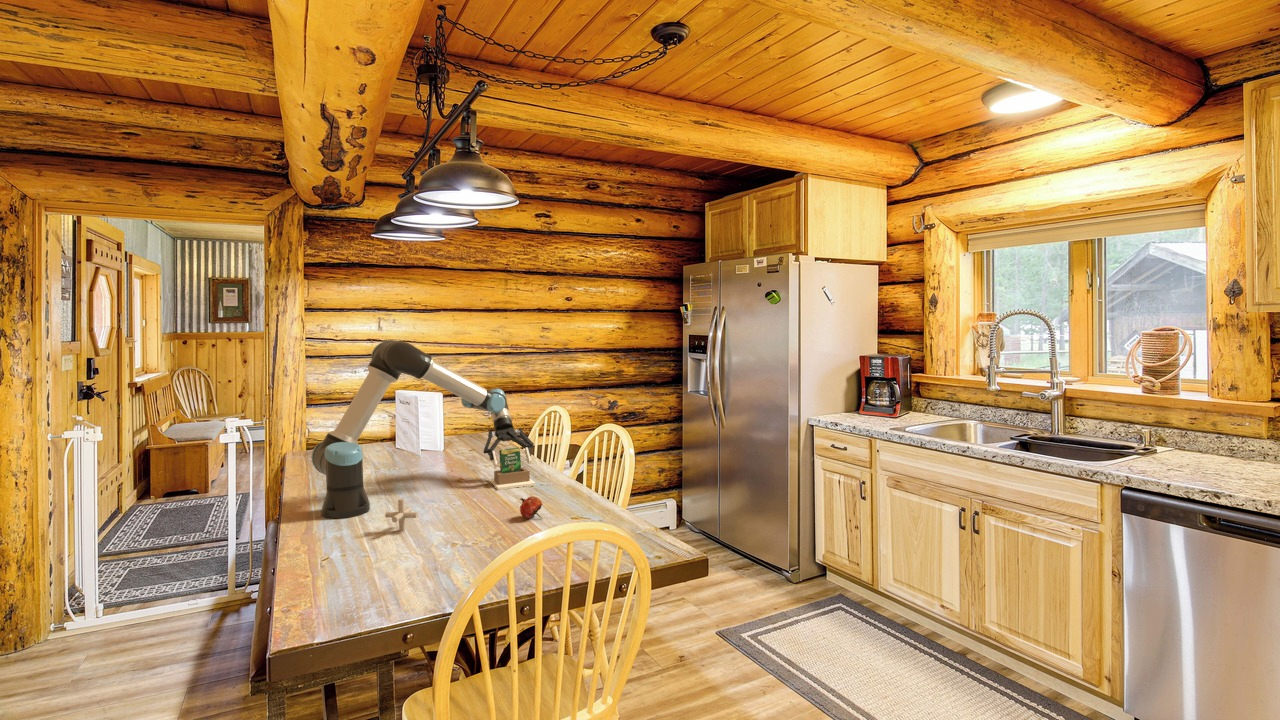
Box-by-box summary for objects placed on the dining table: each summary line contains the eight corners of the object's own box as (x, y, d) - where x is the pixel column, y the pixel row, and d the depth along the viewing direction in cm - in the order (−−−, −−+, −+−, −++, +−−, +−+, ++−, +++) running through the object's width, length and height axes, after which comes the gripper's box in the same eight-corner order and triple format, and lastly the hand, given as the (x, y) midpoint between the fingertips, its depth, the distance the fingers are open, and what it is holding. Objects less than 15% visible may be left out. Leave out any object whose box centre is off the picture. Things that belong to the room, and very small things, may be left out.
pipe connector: (424, 525, 208) (423, 495, 208) (410, 536, 198) (409, 504, 198) (394, 525, 209) (393, 494, 209) (379, 535, 199) (377, 503, 199)
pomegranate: (544, 521, 218) (525, 501, 221) (553, 507, 215) (533, 486, 218) (530, 530, 212) (510, 509, 215) (539, 515, 209) (518, 494, 212)
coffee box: (501, 483, 257) (500, 450, 256) (499, 481, 259) (499, 449, 259) (521, 480, 260) (520, 448, 260) (519, 479, 263) (518, 447, 262)
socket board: (535, 485, 257) (535, 472, 256) (498, 490, 250) (497, 477, 250) (524, 477, 270) (524, 465, 270) (488, 481, 263) (488, 469, 263)
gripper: (529, 424, 278) (541, 466, 266) (470, 429, 267) (480, 473, 254) (533, 413, 273) (545, 455, 260) (473, 418, 262) (482, 462, 249)
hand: (513, 464), depth 257 cm, fingers open, 13 cm apart
